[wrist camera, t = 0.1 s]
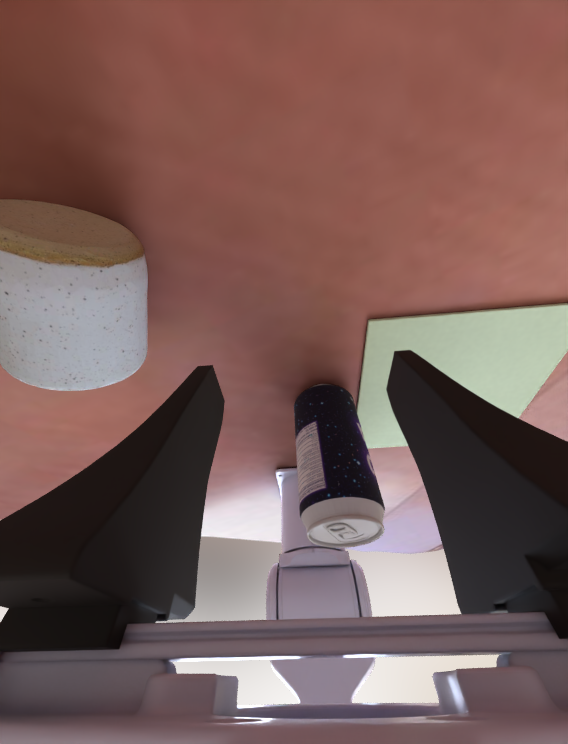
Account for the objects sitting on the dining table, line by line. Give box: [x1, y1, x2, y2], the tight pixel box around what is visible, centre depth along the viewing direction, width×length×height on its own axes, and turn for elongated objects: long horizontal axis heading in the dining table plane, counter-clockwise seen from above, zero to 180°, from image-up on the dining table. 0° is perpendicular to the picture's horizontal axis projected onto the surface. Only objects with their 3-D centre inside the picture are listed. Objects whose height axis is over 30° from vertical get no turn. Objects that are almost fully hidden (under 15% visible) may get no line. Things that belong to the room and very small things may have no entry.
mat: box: [357, 303, 568, 448], centre depth 25 cm, size 17×17×1 cm
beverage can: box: [294, 384, 385, 548], centre depth 21 cm, size 6×6×12 cm
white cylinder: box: [0, 199, 148, 391], centre depth 15 cm, size 11×8×8 cm
